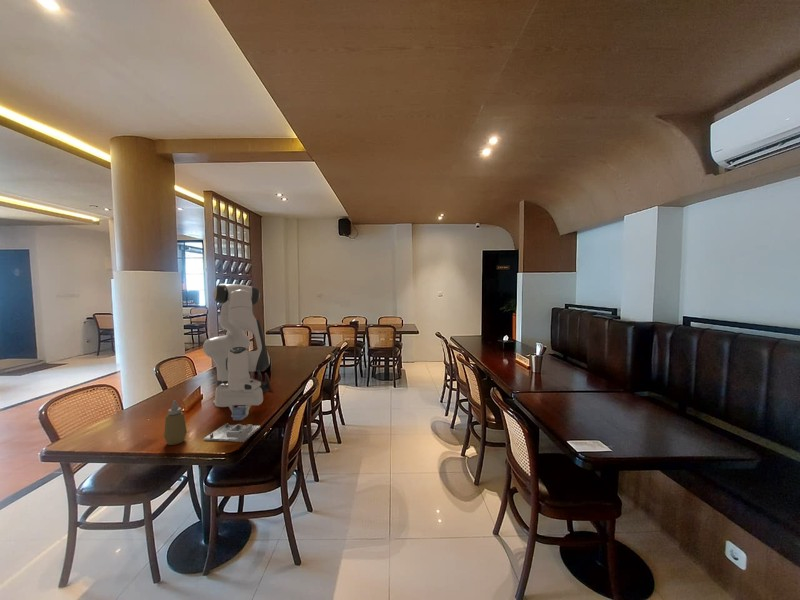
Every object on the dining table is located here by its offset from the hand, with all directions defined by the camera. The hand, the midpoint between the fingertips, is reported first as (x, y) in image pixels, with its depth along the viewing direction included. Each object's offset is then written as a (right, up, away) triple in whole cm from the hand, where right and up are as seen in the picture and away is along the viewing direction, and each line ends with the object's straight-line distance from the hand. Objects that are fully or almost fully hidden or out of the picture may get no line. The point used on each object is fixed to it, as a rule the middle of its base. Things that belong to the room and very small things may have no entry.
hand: (240, 414), depth 148 cm
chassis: (-4, -9, +1) cm, 10 cm away
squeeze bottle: (-24, -10, -7) cm, 27 cm away
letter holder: (-20, -7, +67) cm, 70 cm away
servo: (0, -2, 0) cm, 2 cm away
